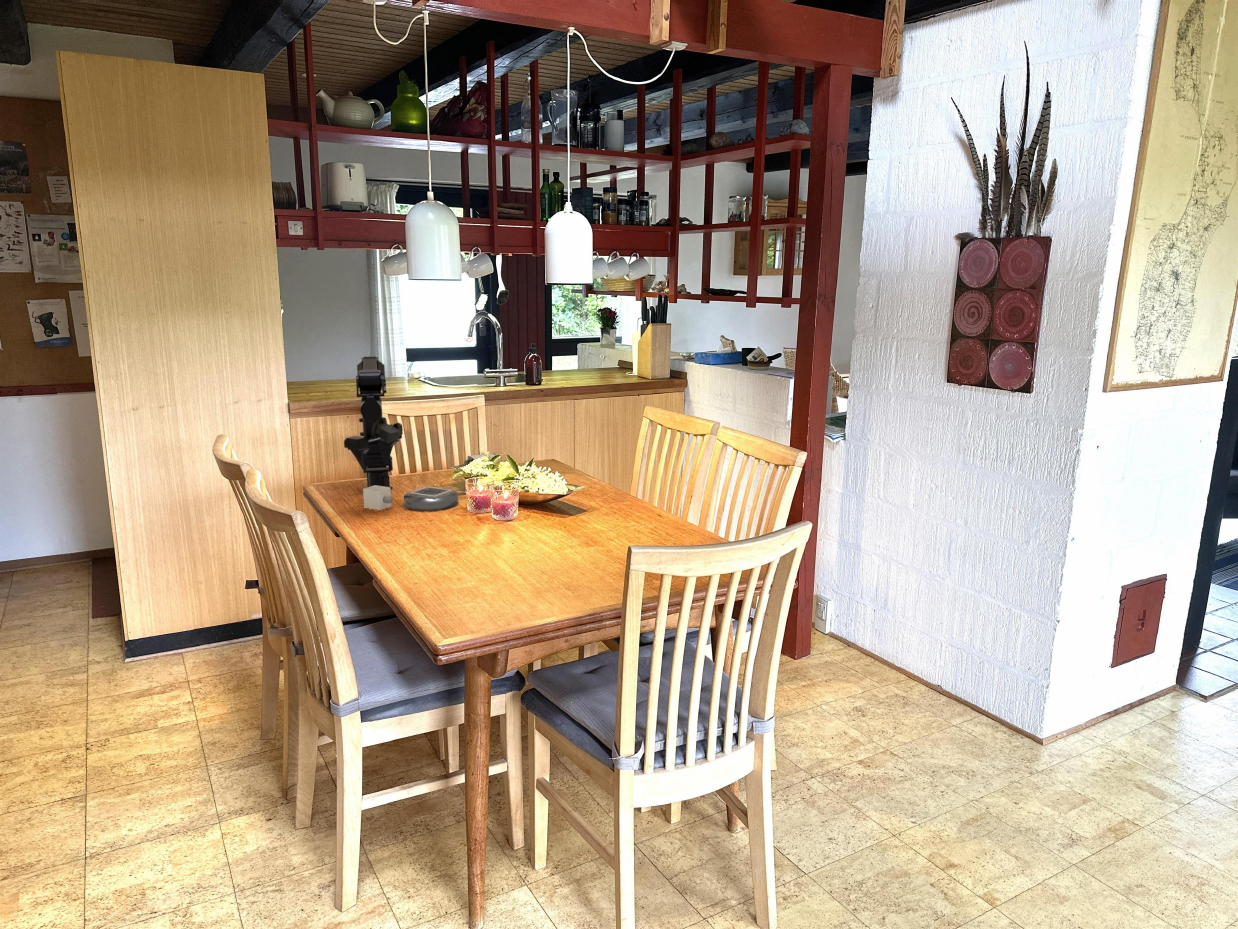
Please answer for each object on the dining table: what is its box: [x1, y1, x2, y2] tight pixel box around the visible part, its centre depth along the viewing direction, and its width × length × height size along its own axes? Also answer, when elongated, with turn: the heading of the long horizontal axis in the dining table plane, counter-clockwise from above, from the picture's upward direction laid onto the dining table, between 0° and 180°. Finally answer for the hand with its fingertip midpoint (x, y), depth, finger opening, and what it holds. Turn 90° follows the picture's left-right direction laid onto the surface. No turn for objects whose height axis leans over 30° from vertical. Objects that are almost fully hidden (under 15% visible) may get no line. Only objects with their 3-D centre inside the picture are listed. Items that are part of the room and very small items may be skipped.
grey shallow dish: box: [403, 486, 459, 512], centre depth 256 cm, size 16×16×4 cm
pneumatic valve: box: [463, 452, 498, 467], centre depth 272 cm, size 6×12×12 cm, turn 117°
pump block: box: [362, 485, 394, 511], centre depth 251 cm, size 8×5×6 cm, turn 64°
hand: (375, 466), depth 250 cm, fingers open, 9 cm apart
